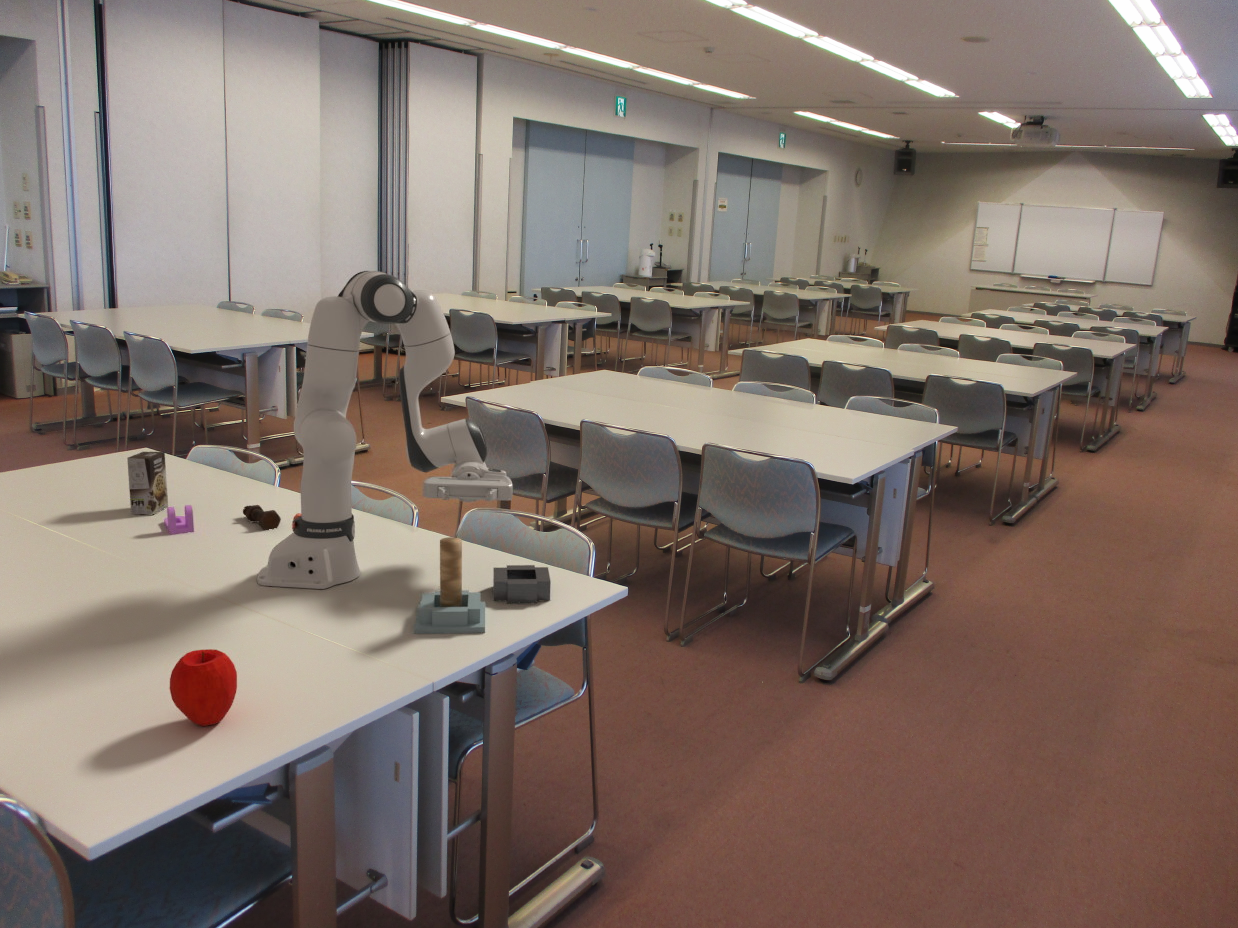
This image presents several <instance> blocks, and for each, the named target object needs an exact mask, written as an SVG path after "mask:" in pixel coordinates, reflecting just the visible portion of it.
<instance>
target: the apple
mask: <svg viewBox="0 0 1238 928" xmlns="http://www.w3.org/2000/svg"><path fill="white" fill-rule="evenodd" d="M237 672H238V671H237V669H236V666H235V663H234V662H233V661H232V659H231V658H230V657H229V656H228V655H227V654H226V653H225V652H223V651H221V650H218V649H214V648H213V649H196V650H192V651H189V652H186V653H185V654H184V655H182V657H180V658H179V660H178V661H177V662H176V664H175V665H174V667H173V668H172V670H171V673H170V677H169V691H170V693H169V694H170V696H171V701H173V703H174V705H175V707H176V708H177V709H178V710H179V711H180V712H181V713H182V714H183V715H184V716H185V717H186V718H187V719H188V720H189V721H191V722H192V723H193V724H196V725H198V726H202V727H203V726H204V727H206V726H211V725H215V724H219V722H221V721H223V720H224V718H225V717H226V715H227V714H228V712H229V711H230V710H231V707H232V706H233V703H234V701H235V698H236V693H237V689H238V673H237Z"/></svg>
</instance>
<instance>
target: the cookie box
mask: <svg viewBox="0 0 1238 928" xmlns="http://www.w3.org/2000/svg"><path fill="white" fill-rule="evenodd" d="M127 470H128V471H127V473H128V486H129V487H128V489H129V500H130V501H129V503H130V514H131V515H140V514H148V515H147V516H150V515H149V514H154V515H156V514H158V513H159V511H160V510H161V511H163V510H165V509H167V508H166V507H169V499H168V482H167V469H166V452H165V451H141V452H139V453H137V454H133V455H130V456H129V457H127ZM164 508H165V509H164ZM162 509H163V510H162ZM161 511H160V512H161ZM157 512H158V513H157ZM155 513H156V514H155Z"/></svg>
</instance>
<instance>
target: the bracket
mask: <svg viewBox="0 0 1238 928" xmlns="http://www.w3.org/2000/svg"><path fill="white" fill-rule="evenodd" d="M193 511H194V510H193V506H192V505H191V504H186V505H184V515H176V509H175V507H174V506H170V507H169V506H168V507H167V508H166V514H167V517H165V518H164V519H163V521H164V522H163V523H164V526H165V528H166V527H167V528H166V529H167V531H168V533H169V532H170V533H169V534H170V535H171V536H172V534H173V535H180V534H179V533H182V534H189V533H188V532H190V533H195V524H194V512H193ZM179 522H180V523H179Z"/></svg>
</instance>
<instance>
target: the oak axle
mask: <svg viewBox="0 0 1238 928" xmlns="http://www.w3.org/2000/svg"><path fill="white" fill-rule="evenodd" d="M439 587H440V589H439V591H440V607H462V590H463V540H462V539H461V538H460V537H452V536H451V537H444V538H440V540H439Z"/></svg>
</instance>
